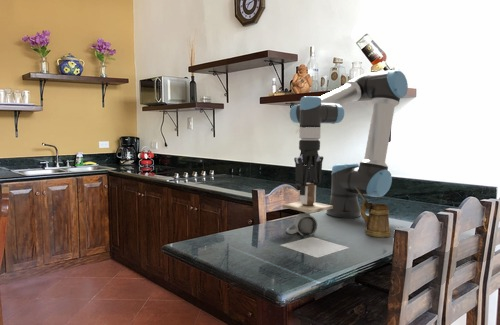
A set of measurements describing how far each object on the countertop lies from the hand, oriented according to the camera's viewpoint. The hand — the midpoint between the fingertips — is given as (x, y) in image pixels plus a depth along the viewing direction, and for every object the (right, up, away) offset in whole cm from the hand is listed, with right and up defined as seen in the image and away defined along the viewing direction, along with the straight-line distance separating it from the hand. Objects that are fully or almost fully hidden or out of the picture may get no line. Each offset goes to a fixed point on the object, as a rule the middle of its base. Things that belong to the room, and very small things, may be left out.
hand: (308, 202), depth 147 cm
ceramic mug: (-2, -12, +1) cm, 12 cm away
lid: (0, -2, 0) cm, 2 cm away
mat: (0, -13, -16) cm, 21 cm away
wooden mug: (+24, -12, +2) cm, 27 cm away
